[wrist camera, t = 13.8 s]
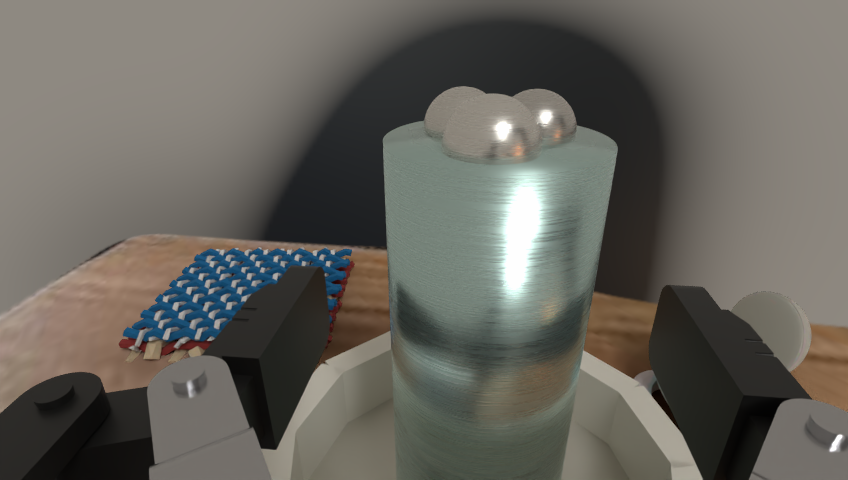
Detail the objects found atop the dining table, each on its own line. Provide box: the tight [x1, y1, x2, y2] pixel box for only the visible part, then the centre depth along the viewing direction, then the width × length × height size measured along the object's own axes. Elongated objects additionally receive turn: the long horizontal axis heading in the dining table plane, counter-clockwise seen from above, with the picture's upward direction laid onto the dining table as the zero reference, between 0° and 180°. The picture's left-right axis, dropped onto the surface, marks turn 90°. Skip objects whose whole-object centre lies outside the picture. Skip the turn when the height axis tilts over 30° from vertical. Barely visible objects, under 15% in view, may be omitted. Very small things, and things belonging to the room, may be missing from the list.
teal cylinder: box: [383, 86, 618, 480], centre depth 13 cm, size 5×5×13 cm
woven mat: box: [119, 247, 354, 362], centre depth 28 cm, size 10×11×2 cm
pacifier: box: [634, 292, 811, 402], centre depth 19 cm, size 7×6×6 cm
